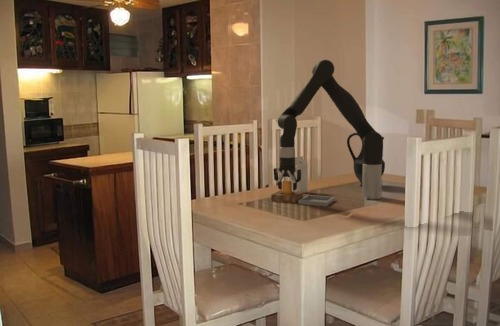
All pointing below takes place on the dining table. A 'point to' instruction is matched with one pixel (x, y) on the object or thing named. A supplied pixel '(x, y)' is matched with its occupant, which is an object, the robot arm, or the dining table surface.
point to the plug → (287, 187)
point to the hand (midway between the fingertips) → (287, 189)
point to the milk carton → (301, 165)
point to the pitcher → (360, 160)
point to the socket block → (286, 197)
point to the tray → (316, 200)
